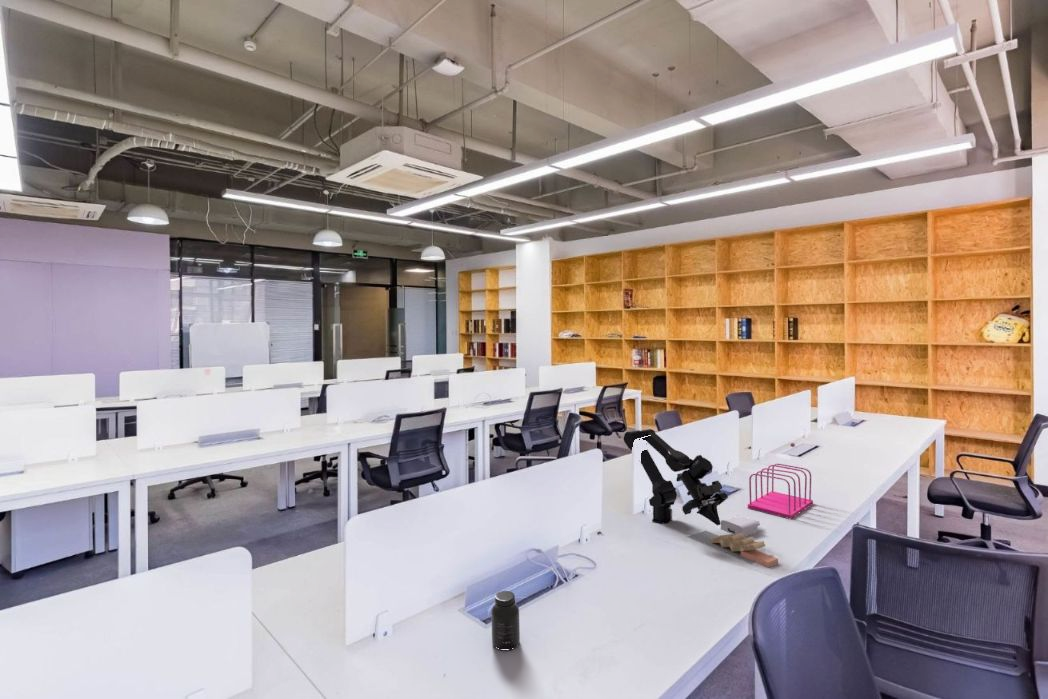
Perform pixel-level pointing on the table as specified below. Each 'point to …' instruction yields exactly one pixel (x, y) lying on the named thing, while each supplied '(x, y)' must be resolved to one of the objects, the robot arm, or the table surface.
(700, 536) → the domino mat
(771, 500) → the file sorter
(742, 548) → the domino
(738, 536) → the domino
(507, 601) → the supplement bottle
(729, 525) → the charger
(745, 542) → the domino
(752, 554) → the domino
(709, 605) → the table surface
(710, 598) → the table surface
